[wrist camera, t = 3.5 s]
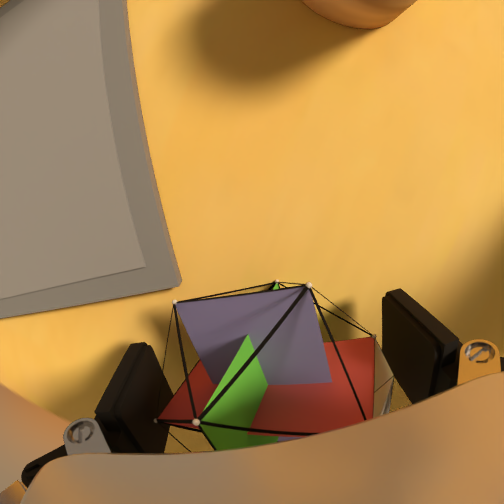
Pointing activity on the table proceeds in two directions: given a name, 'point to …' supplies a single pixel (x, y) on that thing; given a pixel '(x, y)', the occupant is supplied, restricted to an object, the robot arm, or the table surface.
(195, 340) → the geometric puzzle
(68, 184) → the felt mat
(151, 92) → the table surface
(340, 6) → the tan rounded cylinder
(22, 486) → the robot arm
